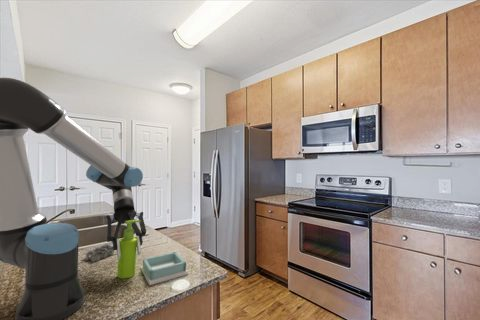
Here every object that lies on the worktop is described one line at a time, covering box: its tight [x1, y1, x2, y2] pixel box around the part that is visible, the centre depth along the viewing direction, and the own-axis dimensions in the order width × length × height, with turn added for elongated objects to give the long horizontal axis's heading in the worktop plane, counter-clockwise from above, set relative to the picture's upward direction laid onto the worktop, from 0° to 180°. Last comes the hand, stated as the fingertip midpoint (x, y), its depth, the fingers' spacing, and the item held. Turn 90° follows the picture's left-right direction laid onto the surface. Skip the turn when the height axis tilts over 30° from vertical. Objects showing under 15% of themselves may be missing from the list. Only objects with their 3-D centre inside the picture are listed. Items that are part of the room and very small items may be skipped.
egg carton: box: [84, 243, 115, 262], centre depth 101 cm, size 11×8×4 cm
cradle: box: [140, 251, 189, 286], centre depth 88 cm, size 14×14×4 cm
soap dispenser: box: [116, 219, 141, 279], centre depth 86 cm, size 6×7×20 cm
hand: (129, 255), depth 82 cm, fingers closed on soap dispenser, 6 cm apart
